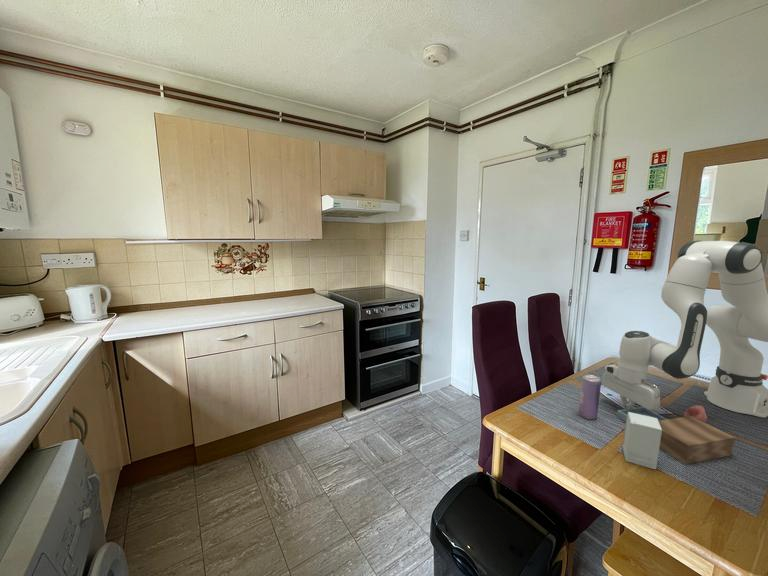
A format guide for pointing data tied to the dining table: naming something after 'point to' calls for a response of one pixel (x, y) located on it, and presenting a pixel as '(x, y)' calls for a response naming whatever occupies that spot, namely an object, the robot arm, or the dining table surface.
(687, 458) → the cubby
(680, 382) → the dining table surface
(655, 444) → the supplement box
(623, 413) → the grey-blue tray
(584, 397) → the beverage can
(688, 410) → the flower
